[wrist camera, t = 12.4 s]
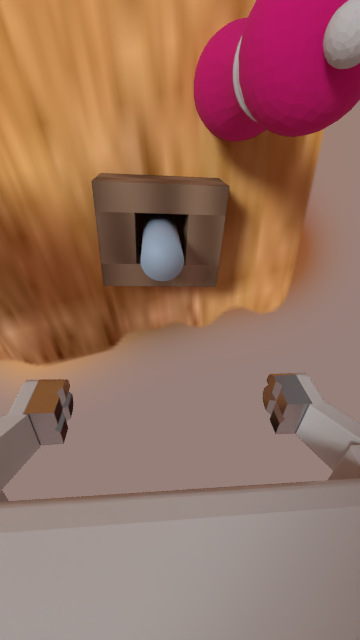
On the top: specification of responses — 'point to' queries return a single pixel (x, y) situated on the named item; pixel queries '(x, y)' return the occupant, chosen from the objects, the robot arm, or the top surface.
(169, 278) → the peg
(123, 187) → the socket block
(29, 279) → the top surface
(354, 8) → the pepper mill
